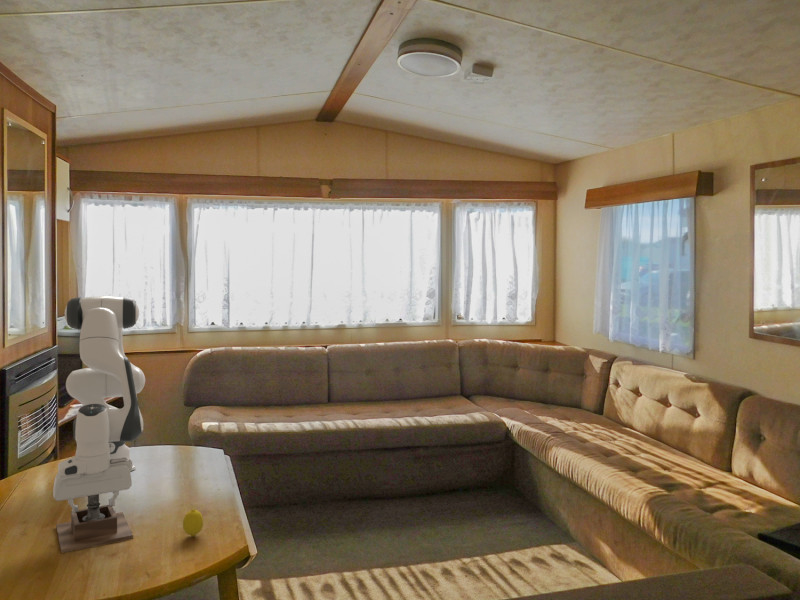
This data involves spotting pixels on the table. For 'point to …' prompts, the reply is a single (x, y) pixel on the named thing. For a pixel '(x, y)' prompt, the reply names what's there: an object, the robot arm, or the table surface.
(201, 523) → the lemon
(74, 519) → the caddy
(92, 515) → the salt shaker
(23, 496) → the table surface
